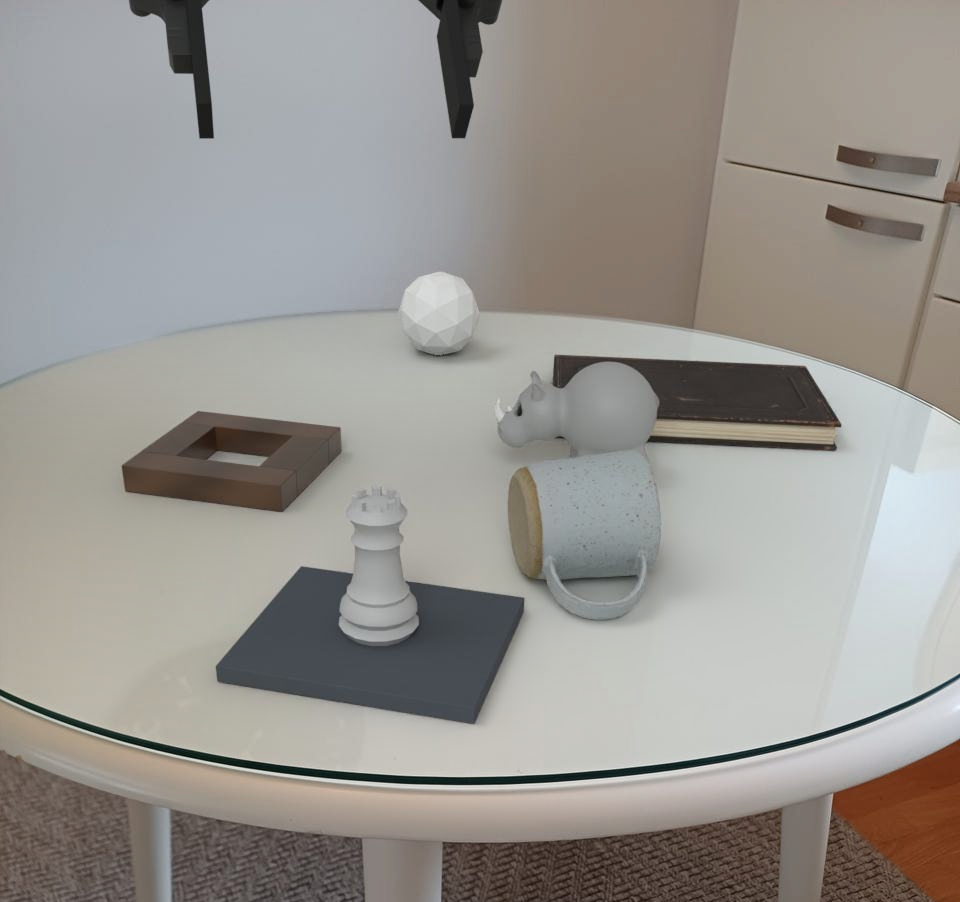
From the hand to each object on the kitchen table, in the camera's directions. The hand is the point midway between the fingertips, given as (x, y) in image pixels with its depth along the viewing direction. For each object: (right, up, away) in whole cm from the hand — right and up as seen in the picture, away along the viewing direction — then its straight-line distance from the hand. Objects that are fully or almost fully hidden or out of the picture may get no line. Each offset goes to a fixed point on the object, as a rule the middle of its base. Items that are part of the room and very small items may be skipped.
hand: (337, 122), depth 59 cm
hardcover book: (+25, -8, +39) cm, 47 cm away
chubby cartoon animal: (+14, -15, +26) cm, 33 cm away
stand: (-11, -15, +25) cm, 30 cm away
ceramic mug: (+14, -24, +11) cm, 30 cm away
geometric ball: (+3, +1, +52) cm, 52 cm away
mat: (+2, -28, +3) cm, 28 cm away
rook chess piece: (+2, -27, +3) cm, 27 cm away
